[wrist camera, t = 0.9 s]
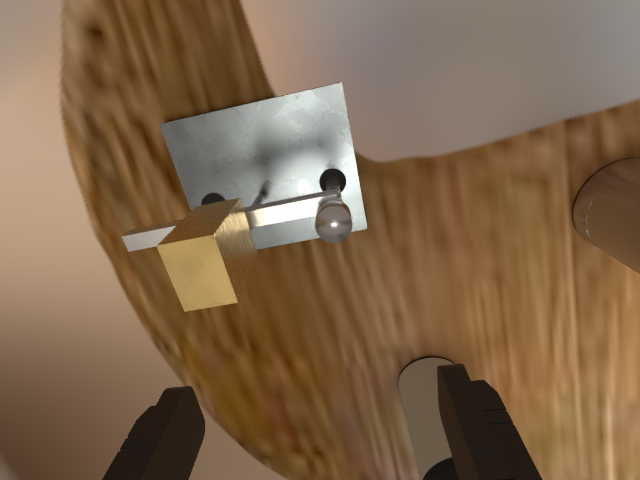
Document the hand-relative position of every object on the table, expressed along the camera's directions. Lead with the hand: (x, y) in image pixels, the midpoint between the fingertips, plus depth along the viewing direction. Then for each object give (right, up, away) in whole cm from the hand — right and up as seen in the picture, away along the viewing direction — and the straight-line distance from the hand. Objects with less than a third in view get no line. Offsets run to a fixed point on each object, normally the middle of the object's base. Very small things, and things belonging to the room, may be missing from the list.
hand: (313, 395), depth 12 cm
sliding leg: (-6, +10, +23) cm, 26 cm away
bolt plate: (-5, +12, +25) cm, 28 cm away
